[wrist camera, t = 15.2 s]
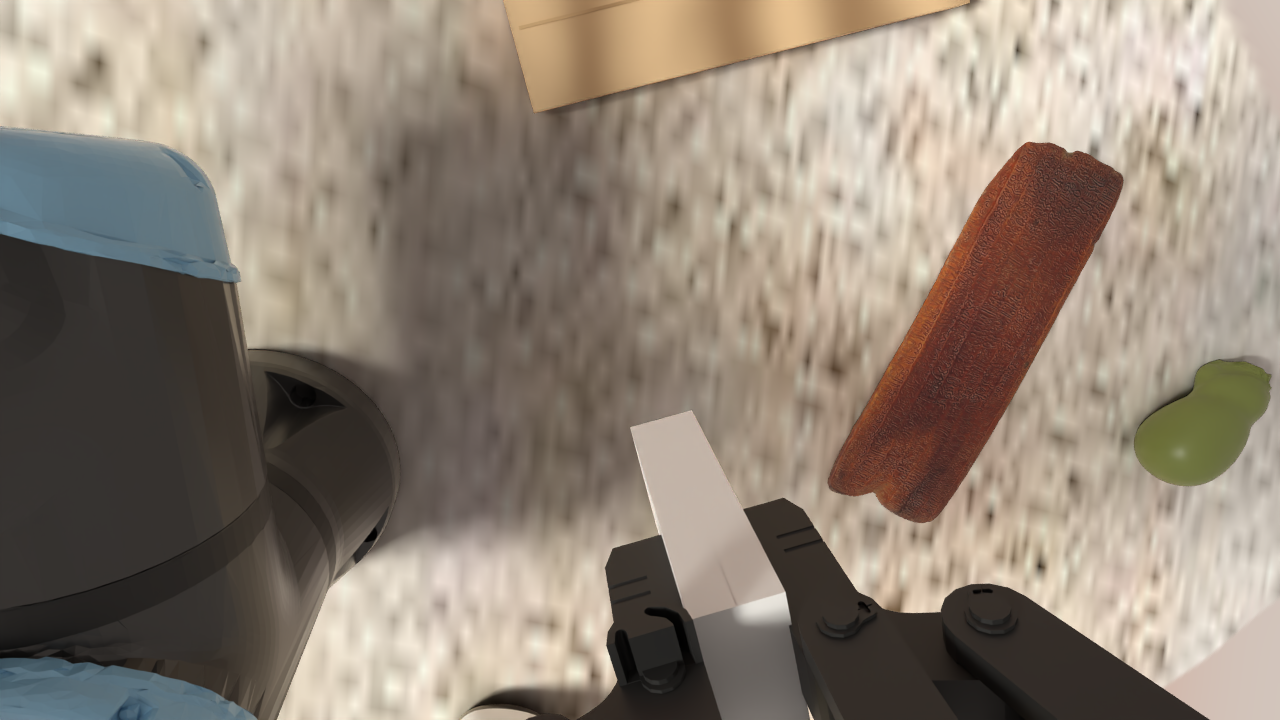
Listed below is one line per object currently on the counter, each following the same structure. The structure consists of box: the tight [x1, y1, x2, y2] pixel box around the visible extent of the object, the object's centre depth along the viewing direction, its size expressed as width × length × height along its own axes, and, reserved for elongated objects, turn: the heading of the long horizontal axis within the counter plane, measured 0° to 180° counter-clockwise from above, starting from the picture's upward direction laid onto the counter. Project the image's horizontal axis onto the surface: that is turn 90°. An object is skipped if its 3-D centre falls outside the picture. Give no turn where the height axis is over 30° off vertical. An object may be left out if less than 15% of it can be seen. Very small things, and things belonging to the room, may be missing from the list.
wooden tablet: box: [828, 142, 1123, 523], centre depth 47 cm, size 27×10×2 cm, turn 156°
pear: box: [1134, 360, 1272, 486], centre depth 50 cm, size 6×5×10 cm
